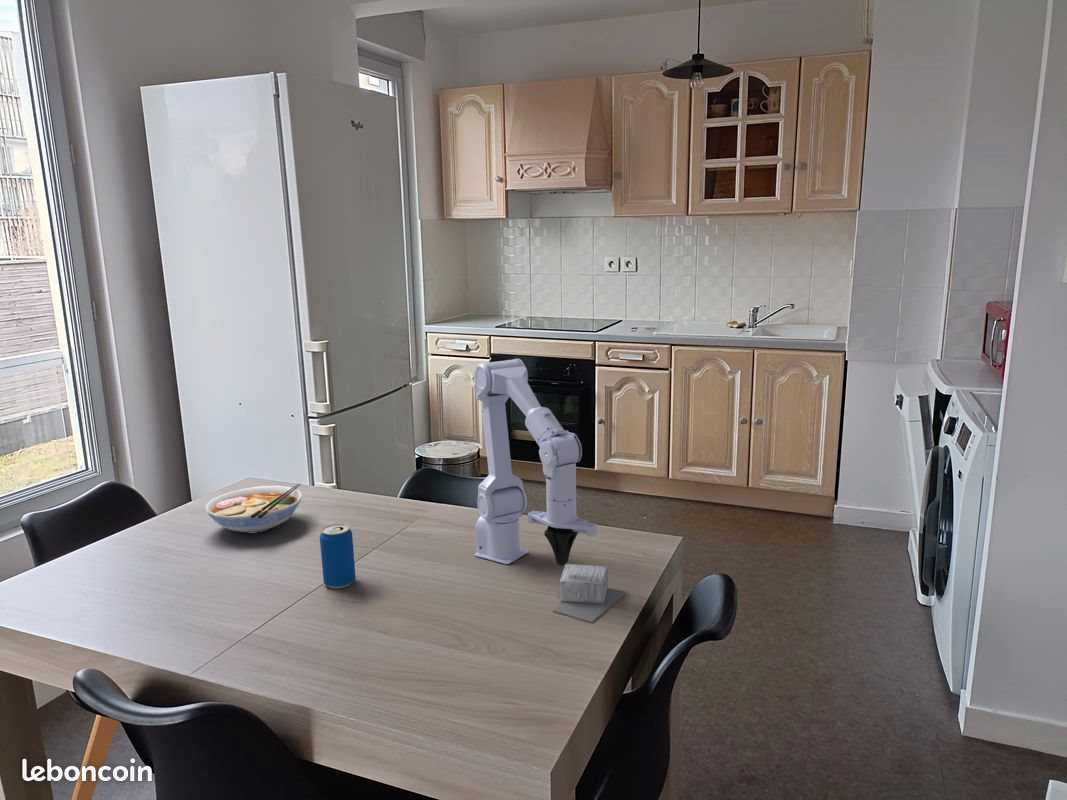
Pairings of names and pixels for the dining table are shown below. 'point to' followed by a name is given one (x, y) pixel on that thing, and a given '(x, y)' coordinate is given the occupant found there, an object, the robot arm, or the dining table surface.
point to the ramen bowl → (254, 507)
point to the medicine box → (583, 583)
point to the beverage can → (337, 556)
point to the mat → (588, 607)
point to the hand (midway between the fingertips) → (562, 563)
